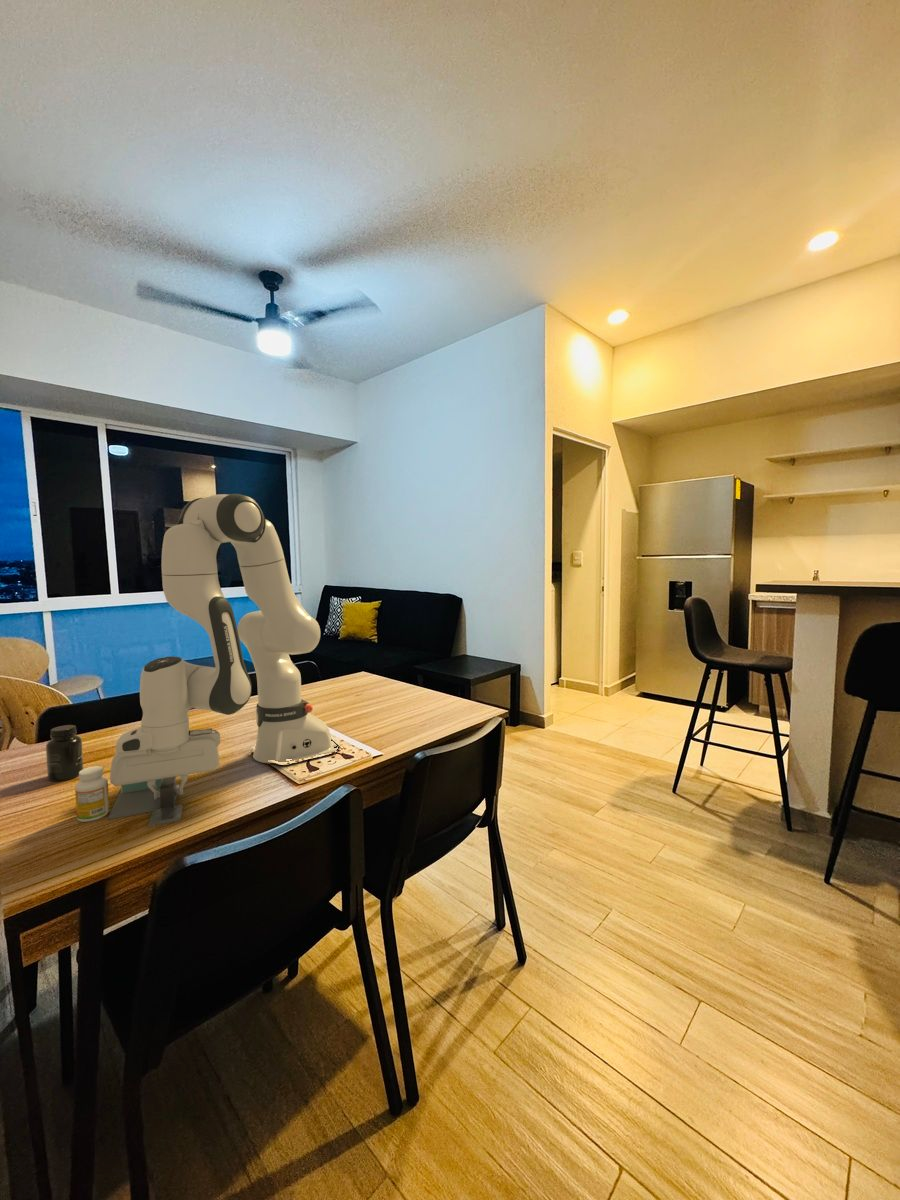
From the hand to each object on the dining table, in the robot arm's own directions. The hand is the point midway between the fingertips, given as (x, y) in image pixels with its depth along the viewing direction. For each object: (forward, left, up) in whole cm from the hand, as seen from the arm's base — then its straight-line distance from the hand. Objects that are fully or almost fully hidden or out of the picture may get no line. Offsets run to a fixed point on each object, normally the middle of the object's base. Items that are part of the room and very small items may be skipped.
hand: (168, 796), depth 105 cm
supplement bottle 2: (+14, -1, -2) cm, 14 cm away
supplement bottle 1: (+24, -25, -2) cm, 35 cm away
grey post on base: (0, +3, -2) cm, 3 cm away
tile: (+6, -9, -1) cm, 11 cm away
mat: (+6, -7, -2) cm, 9 cm away
